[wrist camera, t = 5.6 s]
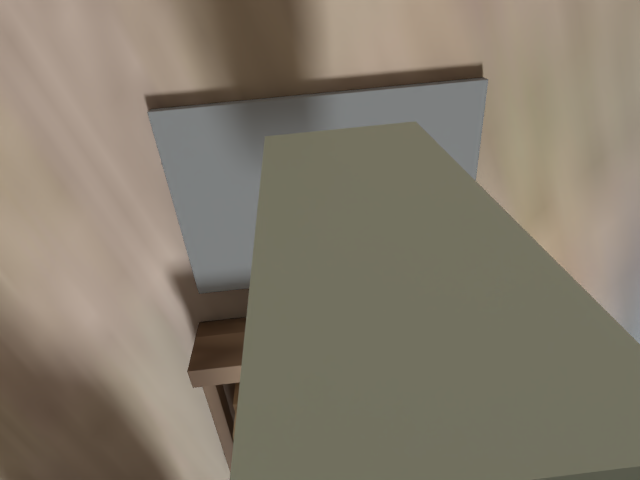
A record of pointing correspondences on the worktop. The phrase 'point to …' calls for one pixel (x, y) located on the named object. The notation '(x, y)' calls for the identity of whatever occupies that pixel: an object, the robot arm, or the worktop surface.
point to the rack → (219, 372)
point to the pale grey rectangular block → (418, 328)
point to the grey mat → (278, 119)
